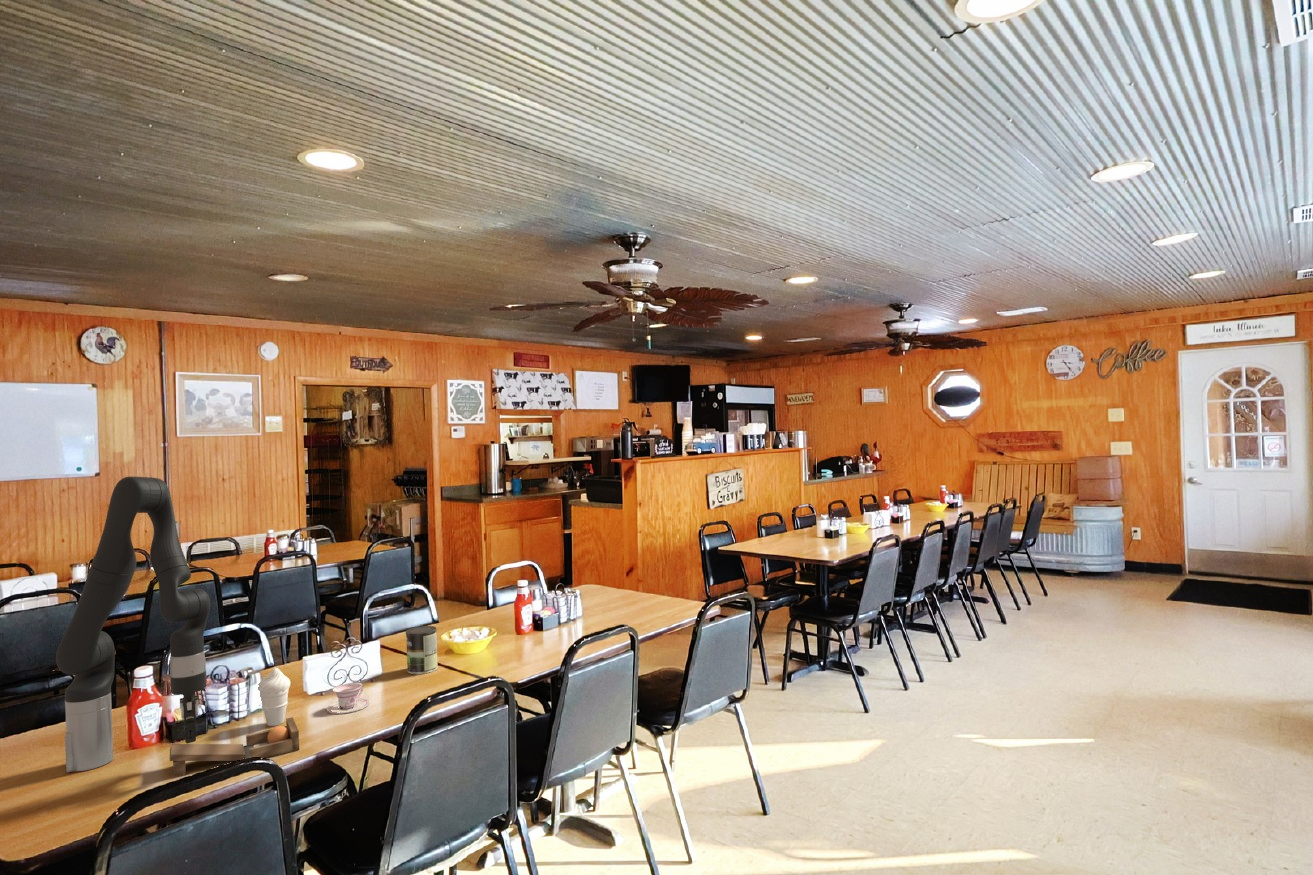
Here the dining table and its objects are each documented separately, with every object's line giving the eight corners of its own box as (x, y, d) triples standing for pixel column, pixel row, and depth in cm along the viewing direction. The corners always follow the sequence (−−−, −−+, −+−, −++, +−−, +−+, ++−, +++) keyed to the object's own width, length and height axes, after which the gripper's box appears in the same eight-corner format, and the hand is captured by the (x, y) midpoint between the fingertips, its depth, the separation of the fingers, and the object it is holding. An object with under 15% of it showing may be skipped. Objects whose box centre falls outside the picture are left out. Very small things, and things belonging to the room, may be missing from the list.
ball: (265, 747, 187) (286, 749, 190) (272, 728, 188) (292, 730, 191) (263, 741, 192) (283, 743, 194) (270, 722, 193) (290, 724, 195)
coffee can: (409, 676, 247) (407, 634, 247) (405, 668, 256) (404, 628, 256) (440, 671, 251) (438, 630, 251) (435, 663, 261) (434, 624, 261)
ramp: (170, 778, 175) (169, 754, 175) (170, 766, 182) (169, 744, 182) (245, 760, 184) (244, 737, 184) (243, 749, 190) (242, 728, 190)
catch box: (246, 762, 182) (245, 742, 182) (243, 747, 192) (242, 728, 192) (299, 749, 188) (298, 730, 189) (293, 735, 199) (292, 717, 199)
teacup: (339, 717, 211) (338, 696, 211) (318, 709, 218) (318, 689, 218) (377, 705, 220) (376, 684, 220) (356, 697, 228) (355, 678, 228)
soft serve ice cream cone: (252, 726, 206) (250, 670, 207) (279, 716, 214) (277, 661, 214) (271, 730, 203) (269, 673, 203) (298, 720, 210) (296, 664, 210)
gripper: (206, 675, 177) (209, 741, 177) (205, 661, 189) (207, 724, 189) (169, 681, 173) (172, 750, 173) (170, 667, 185) (172, 731, 185)
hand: (190, 736), depth 181 cm, fingers open, 8 cm apart
